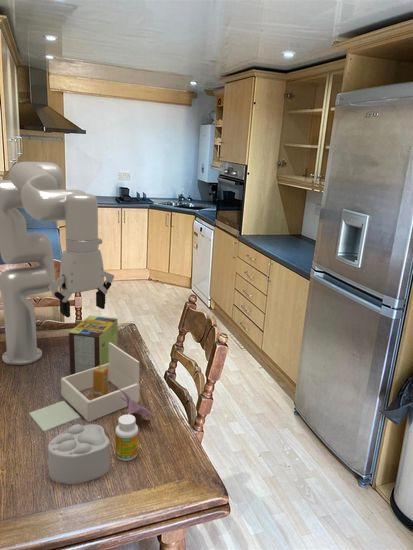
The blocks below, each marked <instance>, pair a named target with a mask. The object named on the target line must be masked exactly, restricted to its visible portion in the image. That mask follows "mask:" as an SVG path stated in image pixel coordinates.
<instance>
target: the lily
mask: <svg viewBox="0 0 413 550" xmlns="http://www.w3.org/2000/svg"><path fill="white" fill-rule="evenodd" d="M117 390H120V391H121V392H122V393H123V394H124V396H125V398H126V400H127V401H126V400H125V399H124V398H122V397H120V398H121V399H123V400H124V401H125V402H126V403H127V405H128V406H127V410H128V413H127V414H129V415H133V414H140V415H142V416H144V417H145V418H146V419H148V420H149V421H151V419H150V418H149V416H148V415H146V414H149V415H152V416H153V417H154V416H155V415H154V414H153V413H152V412H151V411H150V410H148V408H146V407H144V406H140V401H139V402H137V403H136V402H135V401H133V400H131V398H130V397H129V396H128V395H127V394H126V393H125V392H123V391H122V390H121V389H119V388H118V387H117Z"/></svg>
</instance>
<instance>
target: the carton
mask: <svg viewBox="0 0 413 550" xmlns="http://www.w3.org/2000/svg"><path fill="white" fill-rule="evenodd" d="M108 350H109V363H107V364H104V365H101V366H104V367H108V381H107V383H108V382H110V383H111V384H112V385H114V386H115V387H116V388H117V390H115V391H112V392H108V393H107V394H106V395H103V396H101V397H98V398H95V399H93V398H92V399H91V400H90V399H88V398H87V397H86V396H85V395H84V394H83V393H82V391H85V390H88V389H91V388H93V372H94V370H95V369H96V368H97V367H95V368H92V369H89V370H85V371H82V372H79V373H76V374H73V375H70V374H69V375H66V376H64V377H61V378H60V390H61V392H60V393H61V397H62V398H63V399H64V400H66V402H68V403H69V405H70V406H71V407H73V409H75V410H76V411H77V412H78V413H79V414H80V415H81V416H82V417H83V418H84V419H85V421H87V422H88V423H89V422H92V421H95V420H98V419H100V418H102V417H105V416H106V415H109V414H112V413H114V412H117V411H120V410H123V409H124V408H128V405H127V403H126V402H125V401H124V400H123V399H121V398H120V397H122V398H124V399H125V400H126V398H125V396H124V394H123V393H122V392H121V391H120V390H119V389H121V390H122V391H123V392H125V393H126V394H127V395H128V396H129V397H130V398H131V400H133V401H135V402H136V403H138V402H139V403H140V385H141V384H140V361H139V360H137V359H136V358H135V357H133V356H131V355H130V354H128V353H127V352H125V351H124V350H123V349H121V348H120V347H116V346H115V345H113V344H112V343H108ZM118 388H119V389H118ZM126 401H127V400H126Z"/></svg>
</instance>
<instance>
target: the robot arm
mask: <svg viewBox="0 0 413 550" xmlns="http://www.w3.org/2000/svg"><path fill="white" fill-rule="evenodd" d="M63 173H64V172H63V171H62V169H61V167H60V166H59V165H57V164H56V163H55V162H49V161H48V162H47V161H20V162H17V163H15V164H14V165H12V167H10V169H9V174H8V177H9V179H8V180H7V179H6V180H5V179H3V180H0V257H1V259H2V261H3V263H5V264H7V265H22V264H23V265H24V264H29V263H36V265H32V266H22V267H21V266H20V267H14V268H9V269H6V270H4V271H2V272H1V273H0V295H1V299H2V300H1V301H2V306H3V307H2V308H3V316H4V317H3V318H4V328H5V329H4V330H5V343H6V344H5V345H6V351H5V352H4V353H2V355H1V358H2V362H4V363H5V364H7V365H10V366H25V365H29V364H32V363H34V362H37V361H38V360H39V359H41V358H42V357H43V351H42V349H40V348H39V347H37V346H38V343H37V326H36V325H37V323H36V310H35V306H34V304H33V303H32V302H31V301H30V300H28V299H27V297H29V296H32V295H33V296H34V295H38V294H45V293H48V292H51V293H52V295H53V296H54V297H56V298H57V299H58V300H59V312H60V314H62V316H64V317H66V318H70V317H71V303H70V301H69V299H70V298H71V296H72V294H77V293H83V292H88V291H93V290H97V291H96V292H95V306H96V307H97V308H100V309H101V310H105V308H106V295H107V294H108V292H109V291H108V290H109V289H110V288H111V286H112V283H113V281H114V278H115V275H114V274H113V273H109V272H107V271H104V270H105V269H104V262H103V257H102V253H101V249H99V246H100V245H102V244H103V239H102V238H99V214H98V213H99V202H98V198H97V197H96V196H95V195H94V194H91V193H86V192H84V191H83V190H79V189H62V188H63V186H64V179H65V178H64V174H63ZM19 209H23V210H25V212H26V213H27V214H28V215H29V216H31V218H33V219H35V220H36V221H40V222H55V221H56V222H57V221H59V222H60V221H64V222H65V223H64V224H65V250H63V251H62V253H61V258H60V265H59V268H60V269H59V277H58V278H57V279H56V274H55V261H54V260H55V259H54V252H53V245H52V244H53V243H52V241H51V239H50V238H49V237H48V235H47V234H45V233H43V232H42V233H41V232H36V233H28V230H27V228H28V227H27V221H26V218H25V216H24V215H23V214H22V213H21V212H20V210H19ZM105 278H106V279H105ZM58 288H60V289H61V291H59V290H58Z"/></svg>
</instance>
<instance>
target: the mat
mask: <svg viewBox="0 0 413 550" xmlns="http://www.w3.org/2000/svg"><path fill="white" fill-rule="evenodd" d="M28 415H29V416H30V418H32V420H33V421H34V423H36V424H37V426H38V427H39V428H40V429H41V431H42V432H43V433H46V432H48V431H51V430H53V429H56V428H59V427H60V426H64V425H66V424H68V423H72V422H74V421H76V420H79V419H81V416H80V415H79V414H78V413H77V412H76V411H75V410H74V408H72V406H71V405H70V404H68V403H67V401H65V400H61V401H58V402H56V403H53V404H50V405H47V406H45V407H42V408H39V409H36V410H34V411H30V412H28Z"/></svg>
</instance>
